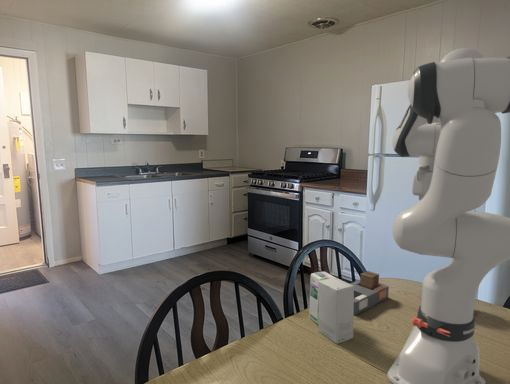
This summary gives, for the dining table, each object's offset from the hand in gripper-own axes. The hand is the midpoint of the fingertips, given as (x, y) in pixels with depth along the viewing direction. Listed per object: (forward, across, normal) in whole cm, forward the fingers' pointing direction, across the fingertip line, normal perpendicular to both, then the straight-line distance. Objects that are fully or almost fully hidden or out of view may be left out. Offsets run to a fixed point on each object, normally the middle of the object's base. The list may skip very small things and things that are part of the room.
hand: (430, 206), depth 119 cm
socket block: (+33, -18, +14) cm, 40 cm away
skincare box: (+33, -42, +6) cm, 54 cm away
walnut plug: (+33, -12, +14) cm, 37 cm away
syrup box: (+33, -38, +14) cm, 52 cm away
